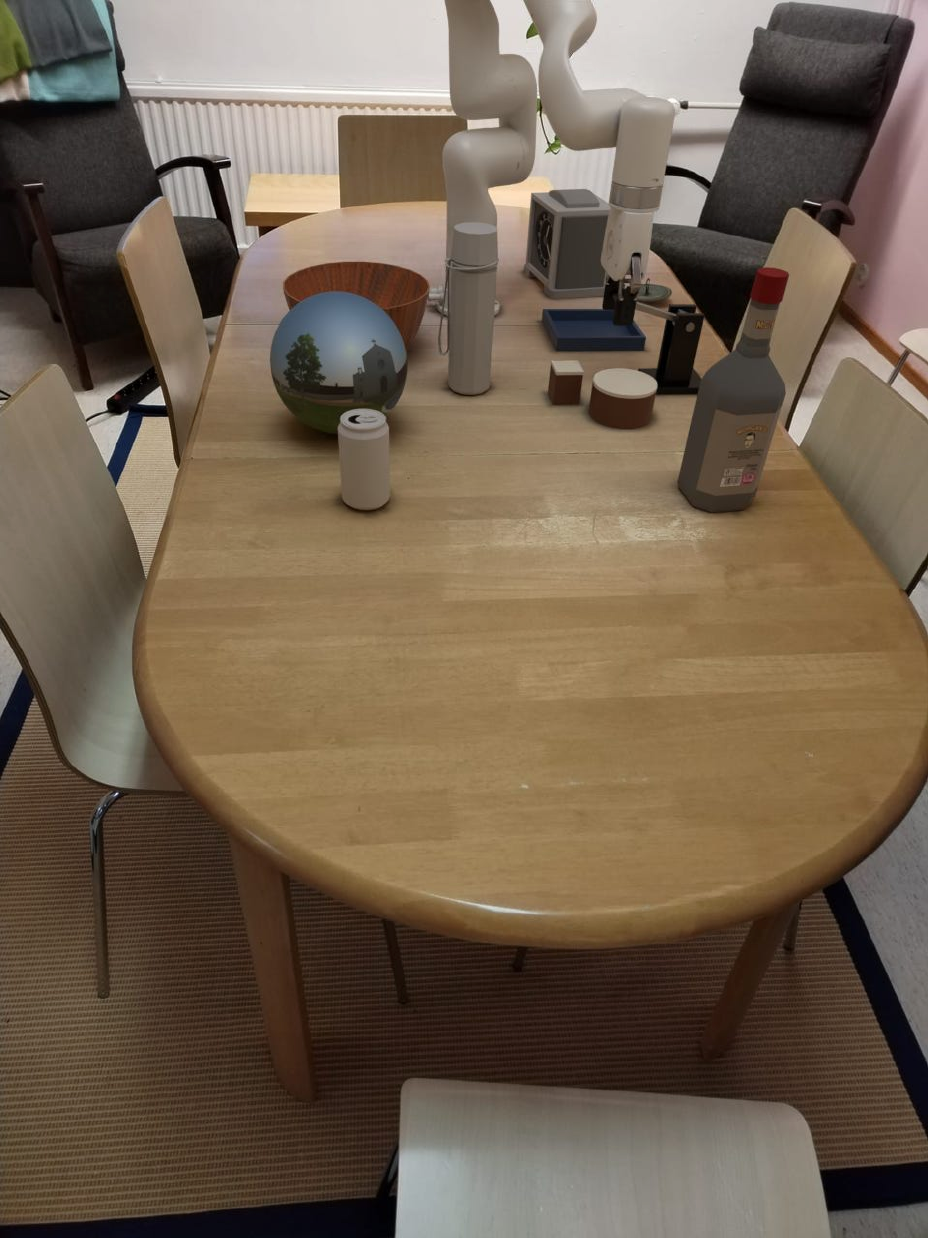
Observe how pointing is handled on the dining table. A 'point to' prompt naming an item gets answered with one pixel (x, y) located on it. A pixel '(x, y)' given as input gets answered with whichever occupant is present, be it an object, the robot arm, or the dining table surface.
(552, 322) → the tray
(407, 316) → the bowl
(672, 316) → the lever
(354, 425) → the beverage can
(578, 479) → the dining table surface
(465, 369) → the water bottle
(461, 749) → the dining table surface
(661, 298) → the lid
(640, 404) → the cake
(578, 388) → the cake slice
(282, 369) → the decorative sphere
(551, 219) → the alarm clock
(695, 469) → the liquor
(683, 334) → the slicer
